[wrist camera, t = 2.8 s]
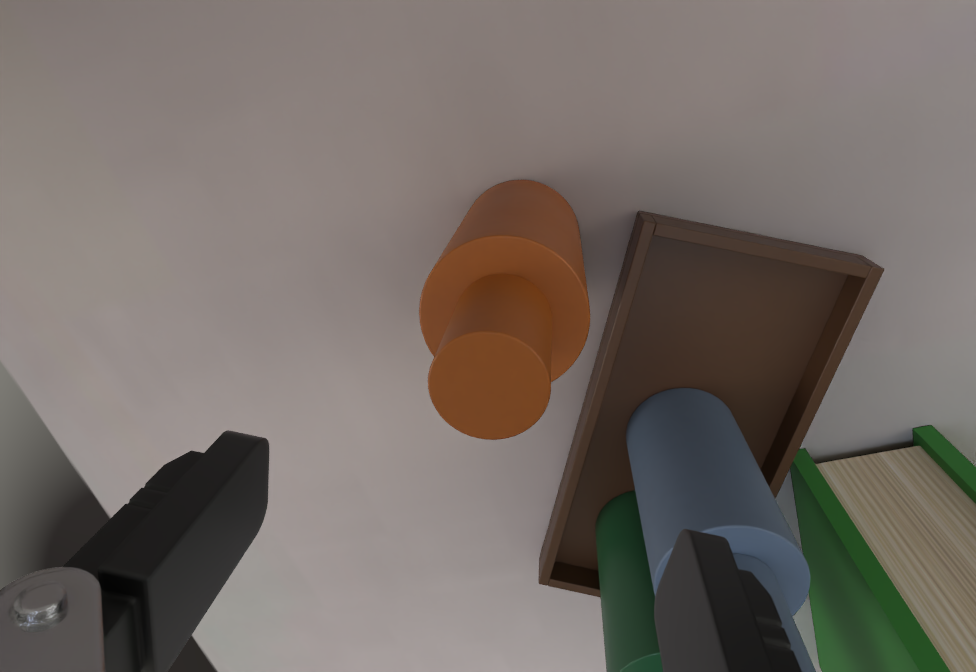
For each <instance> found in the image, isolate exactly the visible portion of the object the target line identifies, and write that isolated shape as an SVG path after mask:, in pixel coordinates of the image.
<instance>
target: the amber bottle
mask: <svg viewBox="0 0 976 672" xmlns="http://www.w3.org/2000/svg"><path fill="white" fill-rule="evenodd" d="M419 316H420V325H421V329H422V333H423V336H424V339H425V342H426V344H427V346H428V348H429V350H430V351H431V353H432V354H433V356H434V359H433V361H432V364H431V366H430V370H429V374H428V389H429V394H430V397H431V400H432V403H433V404H434V406H435V408H436V410H437V411H438V413H439V414H440V416H441V417H442V418H443V419H444V420H445V421H446V422H447V423H448V424H450V425H451V426H452V427H454V428H455V429H457V430H458V431H460V432H462V433H464V434H467V435H469V436H472V437H476V438H481V439H490V440H495V439H504V438H509V437H512V436H516V435H518V434H520V433H522V432H524V431H526V430H527V429H529V428H530V427H531V426H532V425H534V424H535V423H536V422H537V421H538V420H539V419H540V417H541V416H542V414H543V413H544V411H545V409H546V407H547V405H548V402H549V399H550V393H551V382H552V381H554V380H555V379H557V378H559V377H560V376H561V375H562V374H563V373H565V372H566V371H567V370H568V369H569V368H570V367H571V365H572V364H573V363H574V362H575V360H576V359H577V358H578V356H579V355H580V353H581V351H582V349H583V347H584V345H585V342H586V339H587V336H588V331H589V326H590V308H589V299H588V292H587V284H586V277H585V270H584V262H583V255H582V247H581V240H580V232H579V226H578V222H577V219H576V216H575V214H574V212H573V210H572V208H571V207H570V205H569V204H568V202H567V201H566V200H565V199H564V198H563V197H562V196H561V195H560V194H559V193H558V192H556V191H555V190H553V189H552V188H550V187H548V186H546V185H544V184H541V183H538V182H535V181H529V180H512V181H507V182H503V183H500V184H498V185H496V186H493V187H492V188H490V189H488V190H487V191H486V192H484V193H483V194H482V195H481V196H480V197H479V198H478V199H477V200H476V201H475V202H474V204H473V205H472V207H471V208H470V210H469V211H468V213H467V215H466V216H465V218H464V219H463V221H462V223H461V224H460V226H459V227H458V229H457V231H456V232H455V234H454V235H453V237H452V239H451V240H450V242H449V244H448V245H447V247H446V248H445V250H444V252H443V253H442V255H441V256H440V258H439V260H438V261H437V263H436V264H435V266H434V268H433V269H432V271H431V273H430V274H429V276H428V278H427V280H426V282H425V285H424V287H423V290H422V294H421V299H420V308H419Z"/></svg>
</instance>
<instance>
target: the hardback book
mask: <svg viewBox="0 0 976 672" xmlns="http://www.w3.org/2000/svg"><path fill="white" fill-rule="evenodd" d="M913 442H914V447H909V448H903V449H897V450H892V451H886V452H880V453H875V454H869V455H864V456H858V457H852V458H847V459H841V460H835V461H830V462H824V463H819V464H815V463H814V461H813V460H812V458H811V457H810V455H809V454H808V452H807V451H806V449H805V448H804V449H799V450H798V452H797V454H796V456H795V458H794V460H793V462H792V465H791V467H790V470H791V476H792V483H793V490H794V496H795V503H796V510H797V517H798V523H799V530H800V537H801V544H802V550H803V555H804V557H805V559H806V561H807V563H808V566H809V570H810V588H809V597H810V604H811V611H812V618H813V624H814V631H815V638H816V645H817V651H818V658H819V665H820V668H821V670H822V672H976V467H975V466H974V465H973V464H972V463H971V462H970V461H969V460H968V459H966V458H965V457H964V456H963V455H962V454H961V453H960V452H959V451H958V450H957V449H956V448H955V447H954V446H953V445H952V444H951V443H950V442H949V441H948V440H947V439H945V438H944V437H943V436H942V435H941V434H940V433H939V432H938V431H937V430H936V429H935V428H934V427H933V426H932V425H929V426H924V427H918V428H913Z"/></svg>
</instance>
